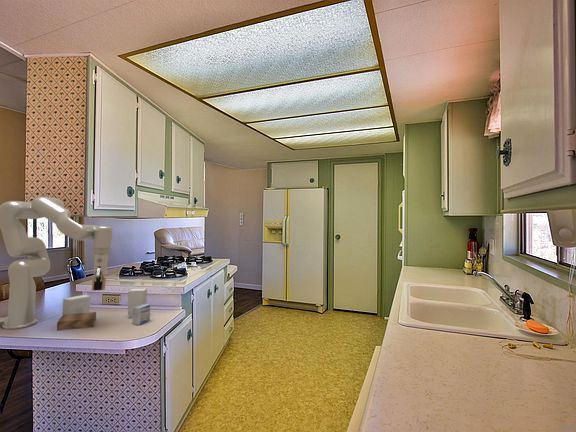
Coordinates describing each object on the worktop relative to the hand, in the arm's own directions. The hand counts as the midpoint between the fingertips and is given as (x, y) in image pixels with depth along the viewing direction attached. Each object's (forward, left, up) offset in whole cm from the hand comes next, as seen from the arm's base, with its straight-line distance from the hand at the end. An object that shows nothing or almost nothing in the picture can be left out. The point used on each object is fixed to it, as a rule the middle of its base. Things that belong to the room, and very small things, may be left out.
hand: (98, 288), depth 142 cm
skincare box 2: (+18, +12, -19) cm, 28 cm away
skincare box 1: (-11, +22, -19) cm, 31 cm away
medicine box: (+20, 0, -19) cm, 27 cm away
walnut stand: (-8, +7, -19) cm, 22 cm away
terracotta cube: (0, 0, -1) cm, 1 cm away
